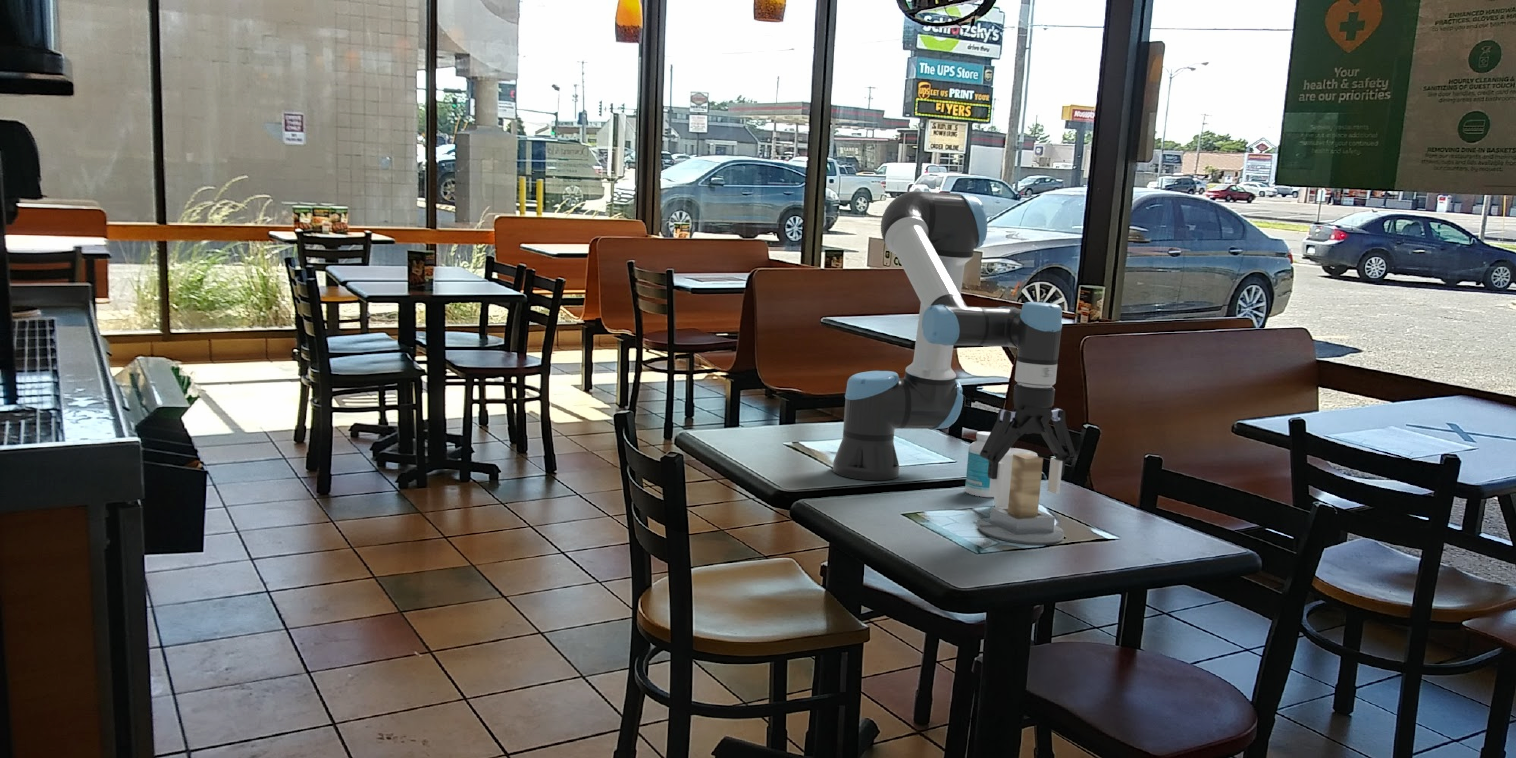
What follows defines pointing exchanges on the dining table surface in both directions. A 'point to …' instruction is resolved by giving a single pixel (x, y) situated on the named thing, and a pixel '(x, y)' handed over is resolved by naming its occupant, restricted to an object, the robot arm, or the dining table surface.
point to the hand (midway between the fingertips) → (1024, 494)
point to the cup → (1008, 476)
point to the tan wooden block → (1025, 485)
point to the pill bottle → (978, 468)
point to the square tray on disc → (1021, 527)
